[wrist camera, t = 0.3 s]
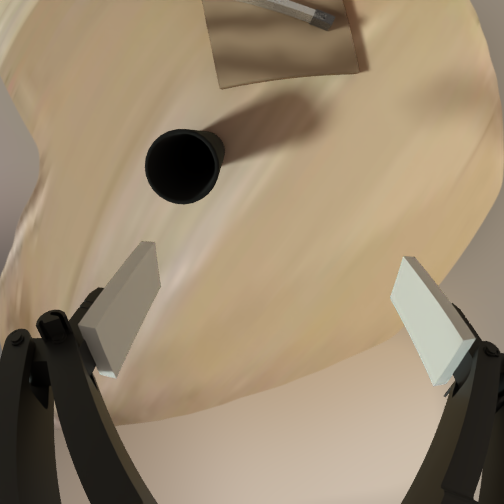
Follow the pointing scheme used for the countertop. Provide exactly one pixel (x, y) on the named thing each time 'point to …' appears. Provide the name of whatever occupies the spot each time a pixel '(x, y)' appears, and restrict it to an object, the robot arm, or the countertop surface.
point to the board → (276, 43)
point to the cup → (184, 165)
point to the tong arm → (296, 11)
